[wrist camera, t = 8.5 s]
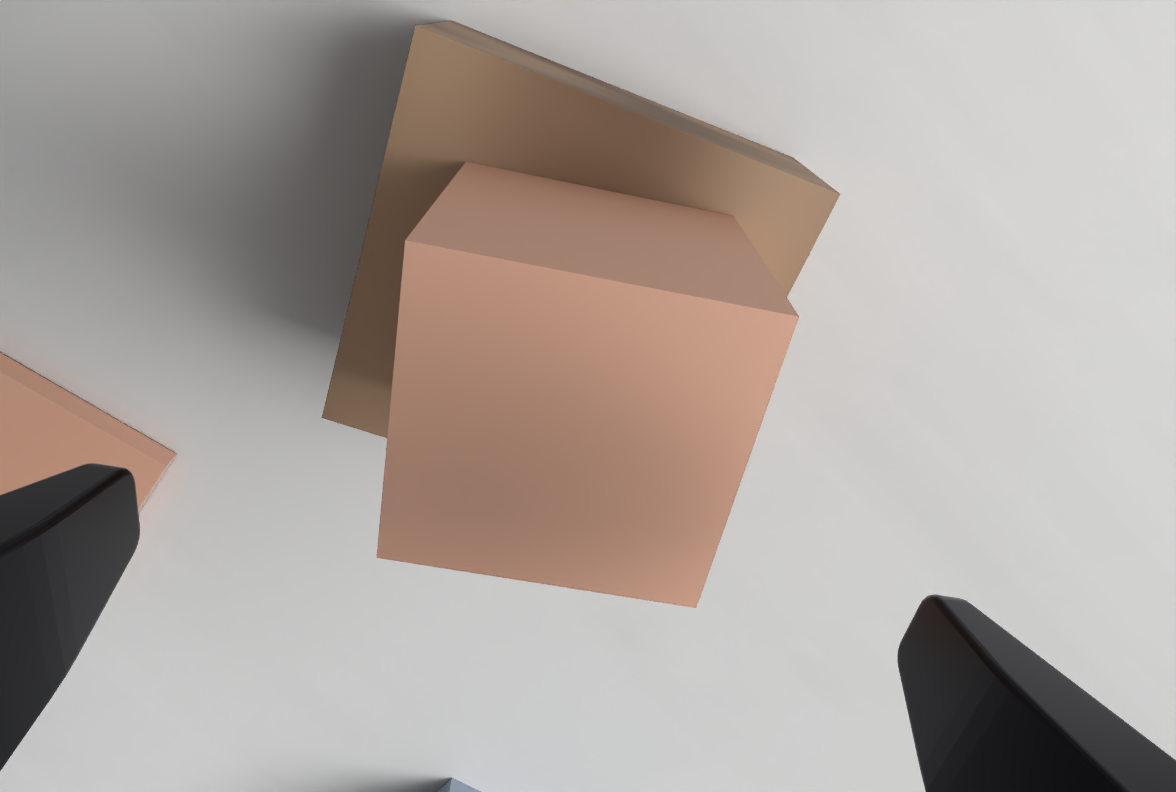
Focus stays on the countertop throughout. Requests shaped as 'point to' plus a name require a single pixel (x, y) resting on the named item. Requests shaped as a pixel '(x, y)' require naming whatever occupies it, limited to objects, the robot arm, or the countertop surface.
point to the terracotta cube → (575, 385)
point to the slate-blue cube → (456, 787)
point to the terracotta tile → (66, 435)
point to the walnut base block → (551, 150)
